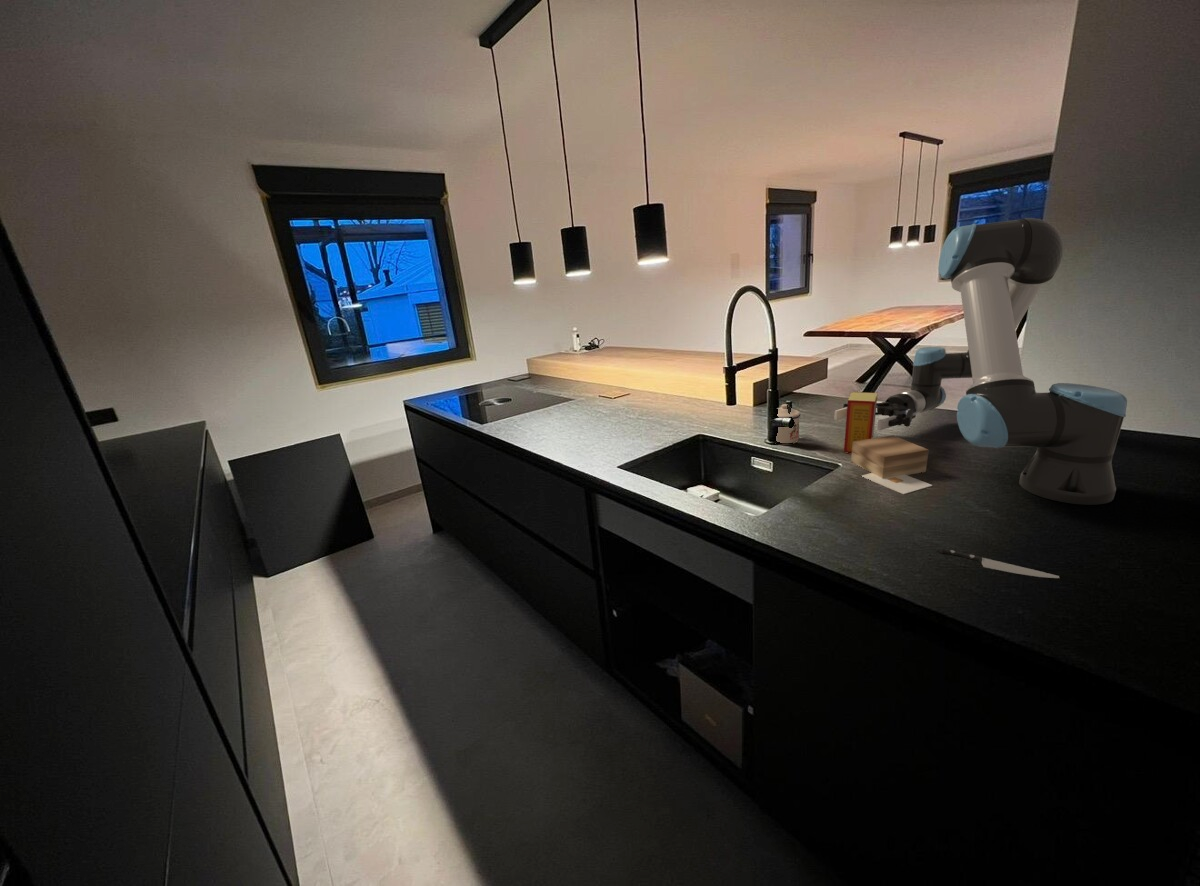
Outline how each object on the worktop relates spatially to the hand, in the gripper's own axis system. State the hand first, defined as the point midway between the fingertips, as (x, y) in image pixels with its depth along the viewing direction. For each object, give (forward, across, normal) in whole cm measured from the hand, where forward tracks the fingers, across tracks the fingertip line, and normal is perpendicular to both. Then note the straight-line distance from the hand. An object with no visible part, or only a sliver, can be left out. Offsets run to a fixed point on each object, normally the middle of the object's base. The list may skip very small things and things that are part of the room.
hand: (856, 420), depth 134 cm
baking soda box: (-2, 0, -9) cm, 9 cm away
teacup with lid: (+7, +19, -9) cm, 22 cm away
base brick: (+4, -13, -9) cm, 16 cm away
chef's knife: (+29, -50, -10) cm, 59 cm away
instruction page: (+11, -19, -9) cm, 24 cm away
